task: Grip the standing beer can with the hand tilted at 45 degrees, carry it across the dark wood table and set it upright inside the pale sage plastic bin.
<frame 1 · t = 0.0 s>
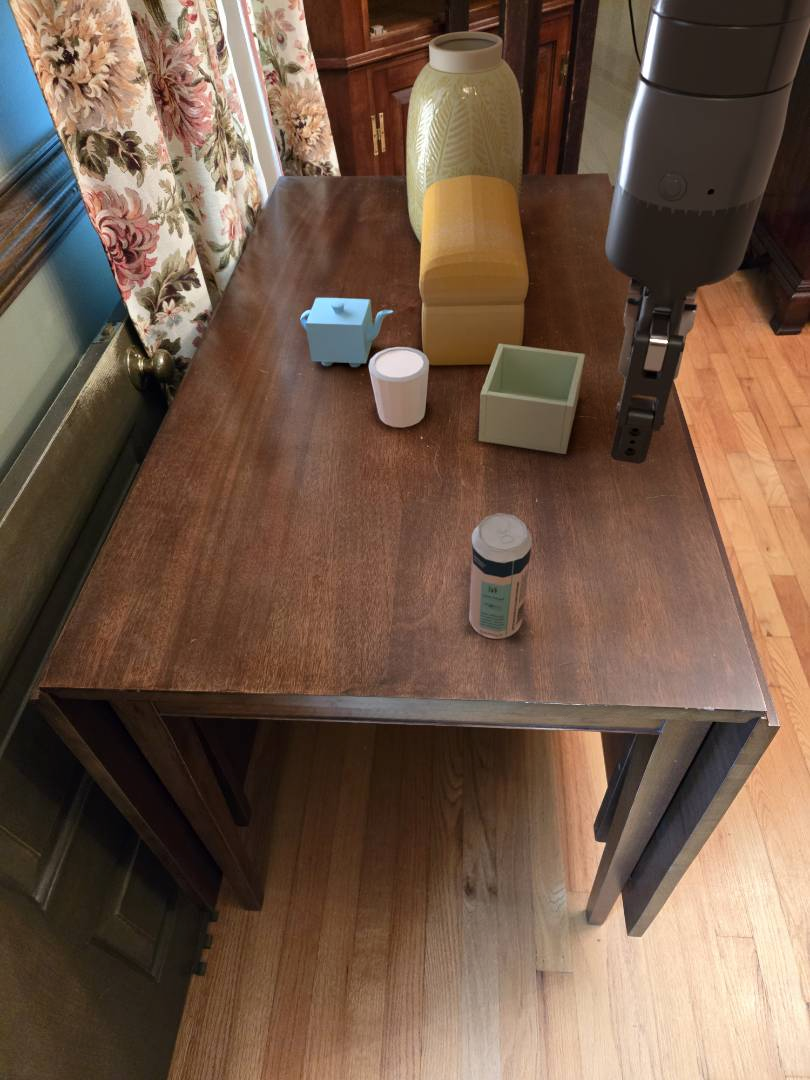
hand: (632, 418, 50), 22 cm above the table, tool pointing down, fingers open, 8 cm apart
white cup: (401, 413, 87), on the table
bread: (469, 315, 101), on the table
beer can: (495, 621, 66), on the table
bin: (529, 420, 85), on the table
vase: (462, 242, 115), on the table
teapot: (351, 356, 96), on the table
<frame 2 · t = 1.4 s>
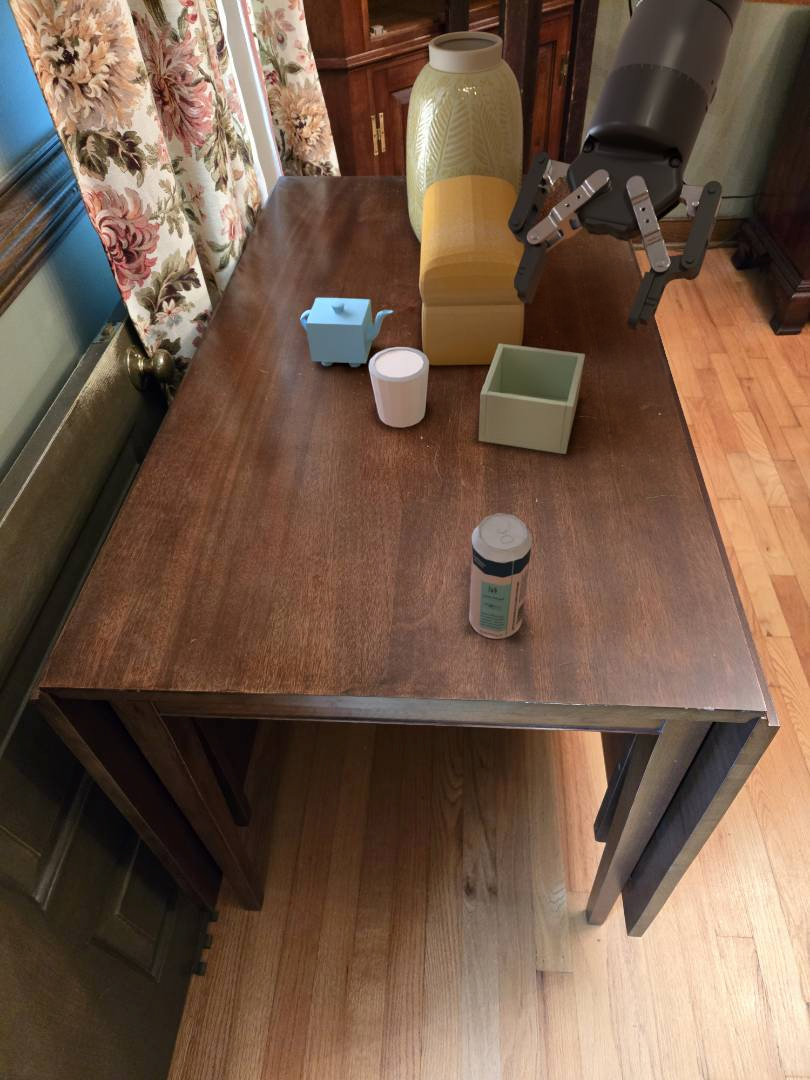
hand: (576, 313, 54), 25 cm above the table, tool tilted 45°, fingers open, 8 cm apart
nothing on the table moved.
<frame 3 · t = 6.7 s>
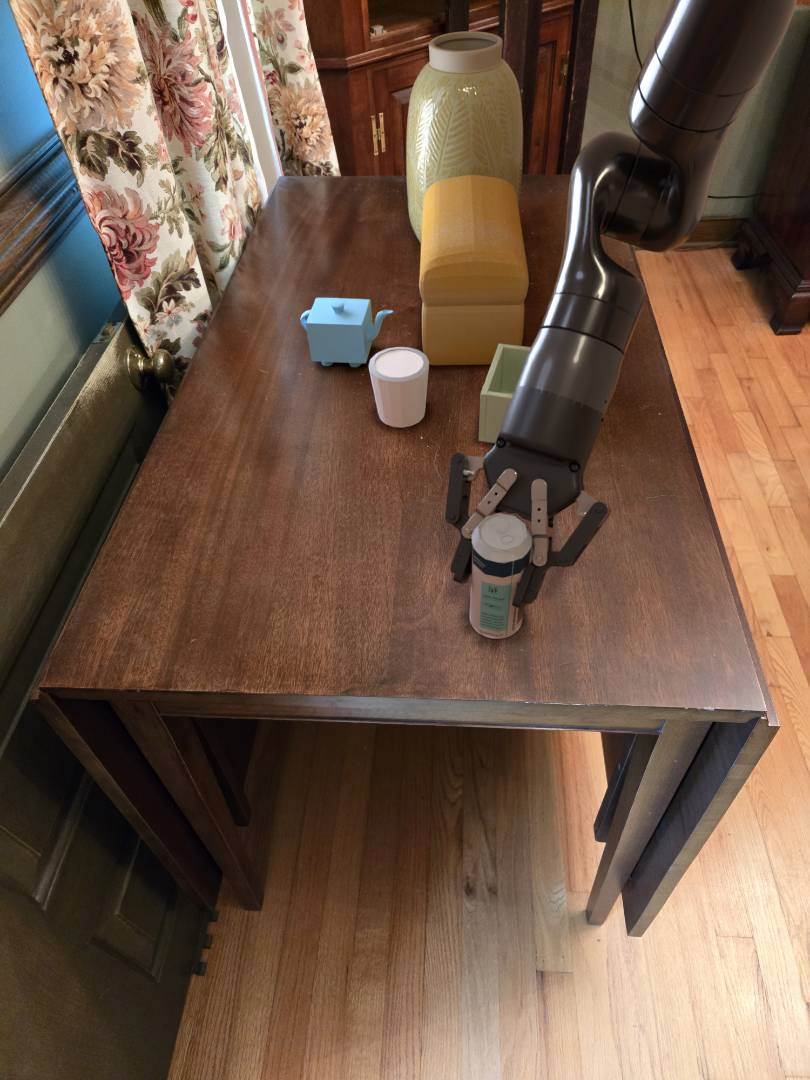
hand: (489, 593, 60), 6 cm above the table, tool tilted 45°, fingers closed on beer can, 4 cm apart
beer can: (495, 621, 66), on the table, touching gripper
everything else where it was.
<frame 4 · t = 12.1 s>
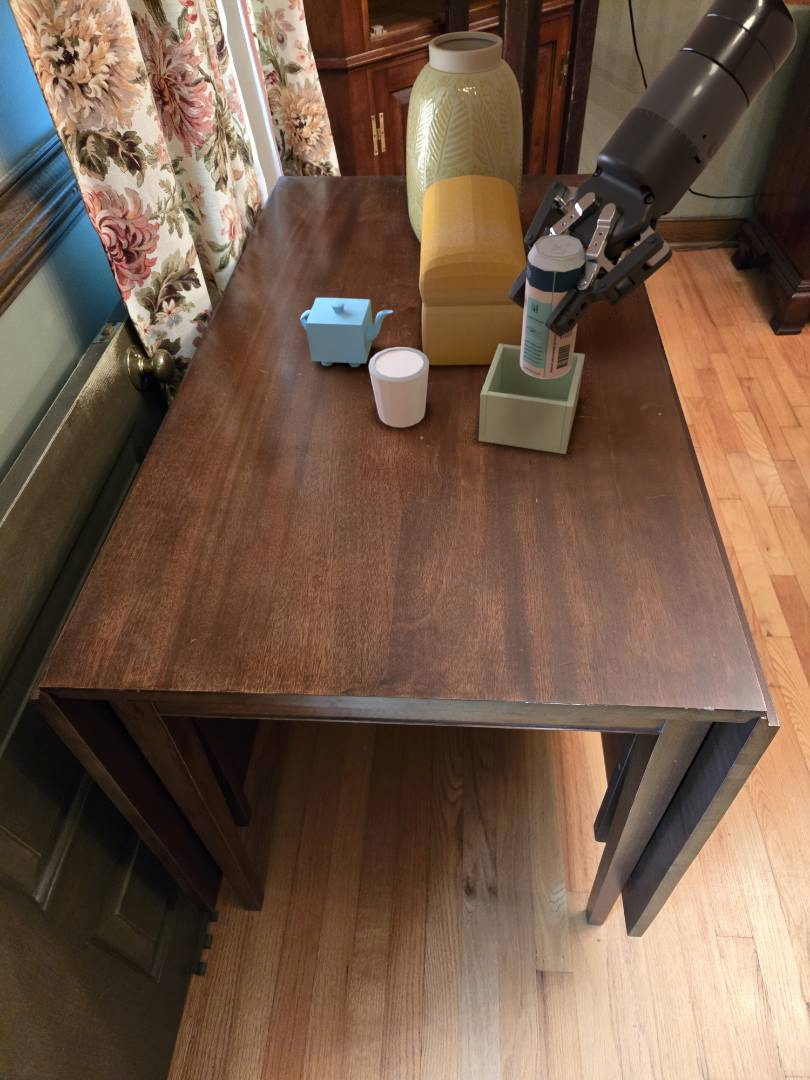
hand: (534, 316, 63), 20 cm above the table, tool tilted 45°, fingers closed on beer can, 4 cm apart
beer can: (544, 370, 68), point 14 cm above the table, touching gripper
everything else where it was.
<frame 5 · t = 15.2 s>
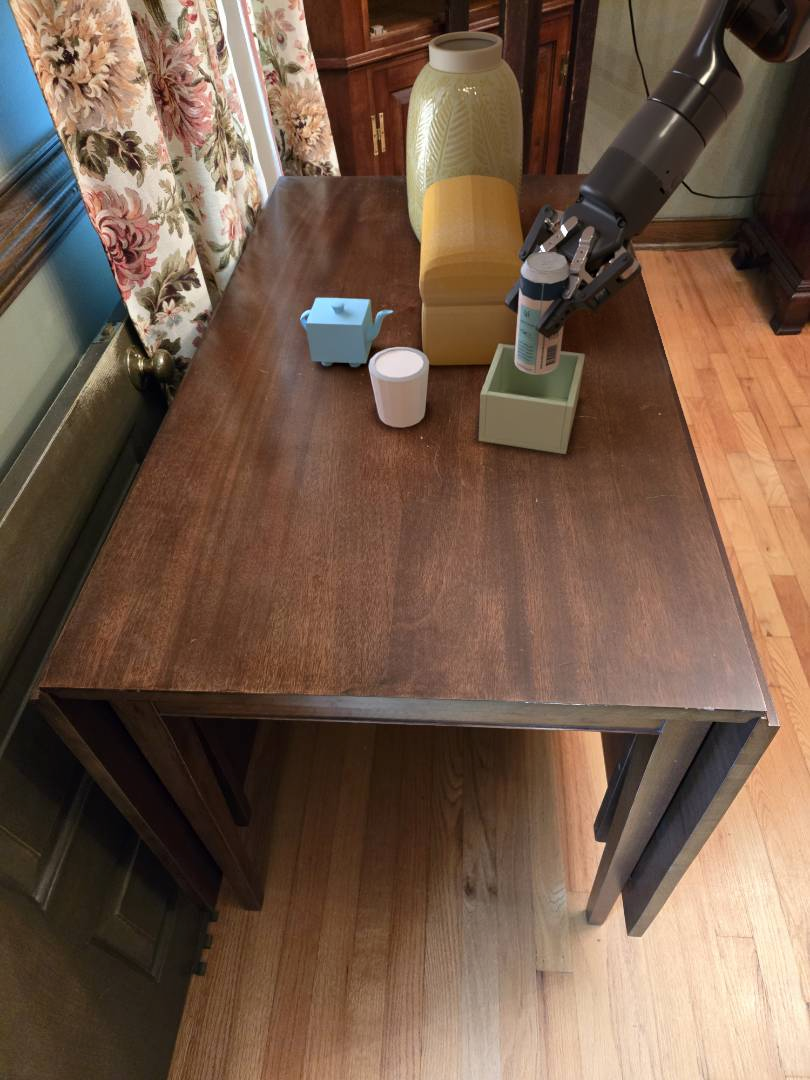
hand: (526, 320, 74), 14 cm above the table, tool tilted 45°, fingers closed on beer can, 4 cm apart
beer can: (536, 366, 79), point 7 cm above the table, touching gripper
everything else where it was.
when the fingers open (7 cm above the table, at t = 17.6 s): beer can stays where it is, resting on bin.
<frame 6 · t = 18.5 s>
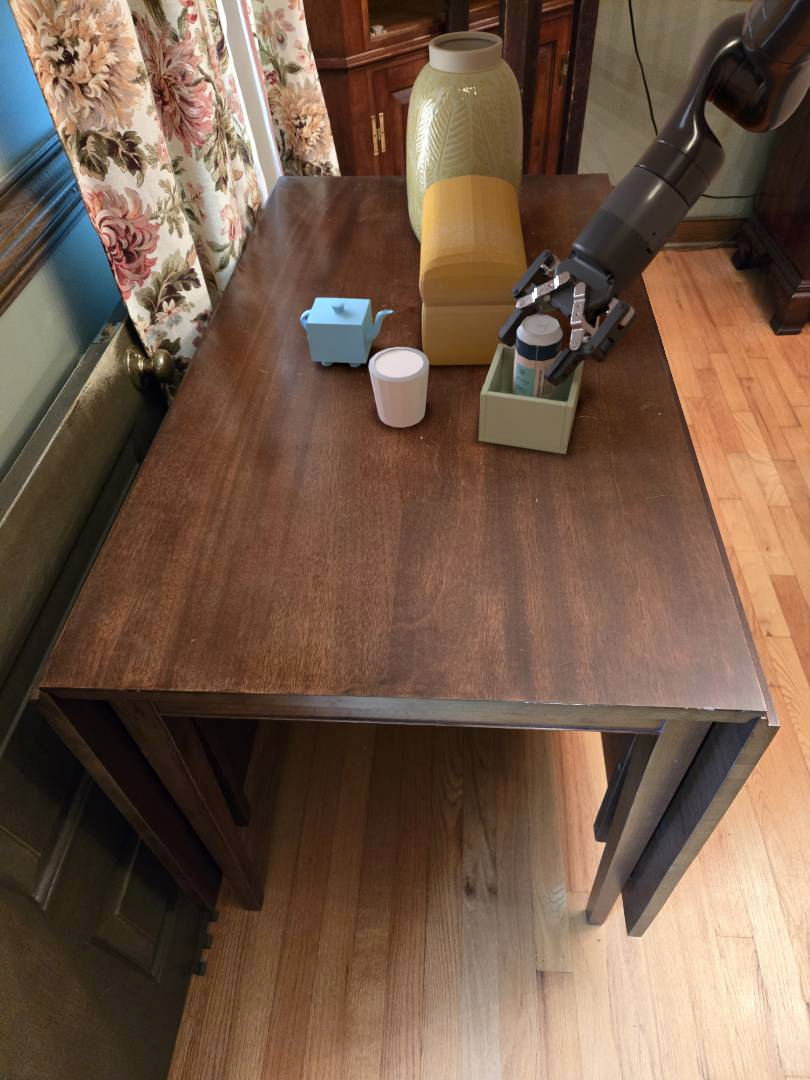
hand: (525, 362, 78), 9 cm above the table, tool tilted 45°, fingers open, 8 cm apart
beer can: (530, 417, 85), resting on bin
everything else where it was.
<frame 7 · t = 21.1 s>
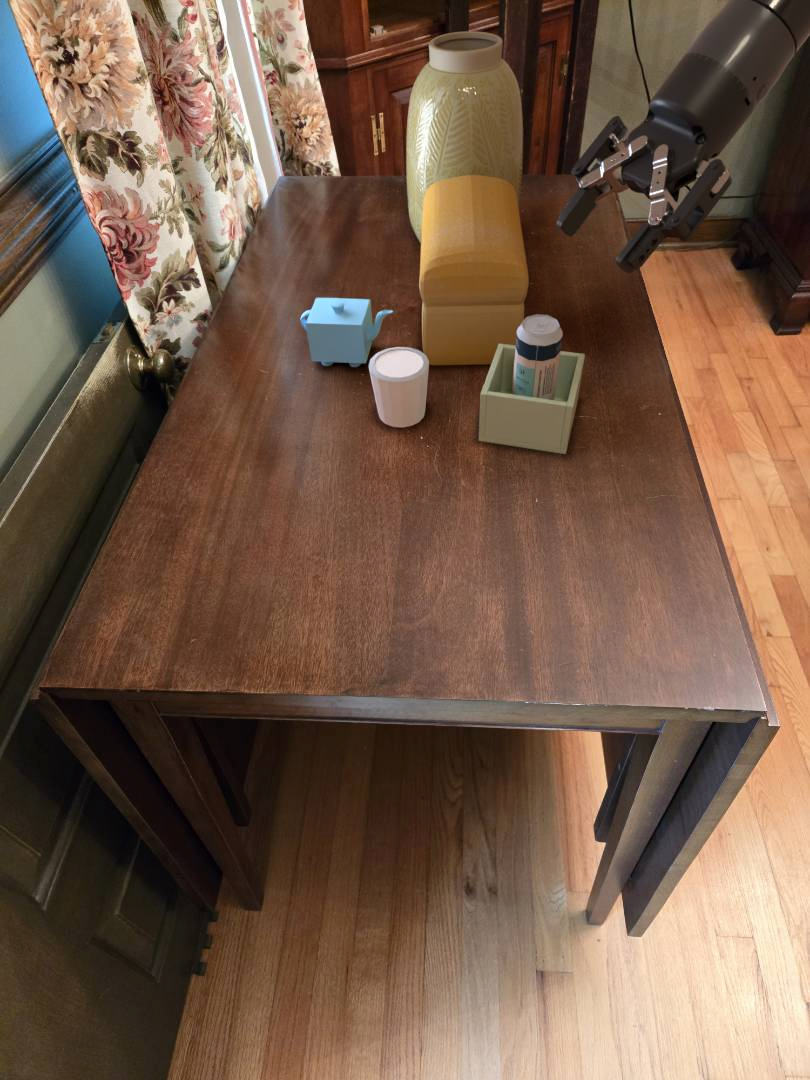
hand: (591, 249, 66), 22 cm above the table, tool tilted 45°, fingers open, 8 cm apart
nothing on the table moved.
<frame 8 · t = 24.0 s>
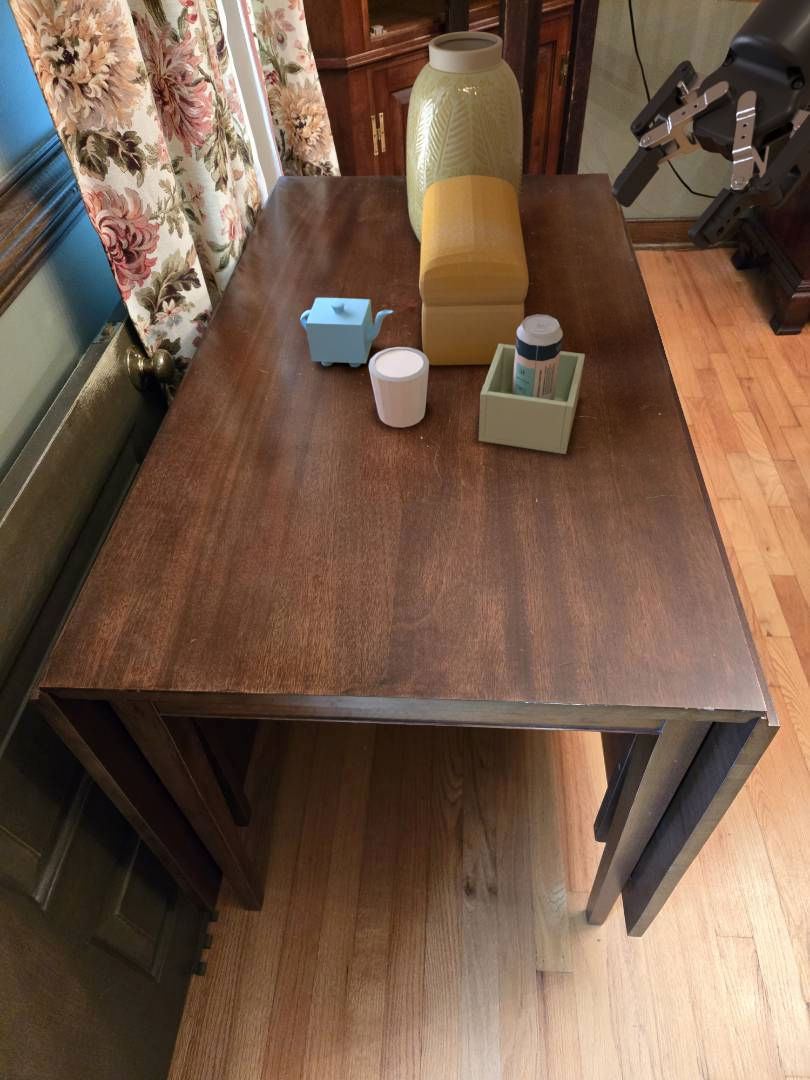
hand: (655, 221, 55), 29 cm above the table, tool tilted 45°, fingers open, 8 cm apart
nothing on the table moved.
at the end: beer can inside the target area in the bin (0.1 cm from its centre), point 0.4 cm above the bin's base; beer can tilted 0°; the gripper is holding nothing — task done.
